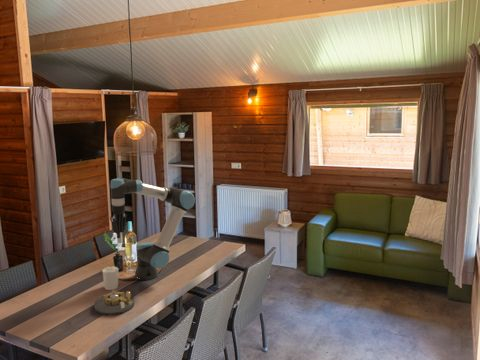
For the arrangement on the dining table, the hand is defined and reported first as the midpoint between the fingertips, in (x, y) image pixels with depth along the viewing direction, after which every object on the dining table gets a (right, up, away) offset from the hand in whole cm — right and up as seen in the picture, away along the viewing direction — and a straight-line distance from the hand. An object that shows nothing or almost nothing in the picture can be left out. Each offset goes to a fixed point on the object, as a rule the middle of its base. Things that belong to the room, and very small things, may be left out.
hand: (120, 242), depth 248 cm
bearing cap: (0, -35, -12) cm, 37 cm away
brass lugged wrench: (+3, -32, -13) cm, 35 cm away
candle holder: (-10, -31, +14) cm, 35 cm away
